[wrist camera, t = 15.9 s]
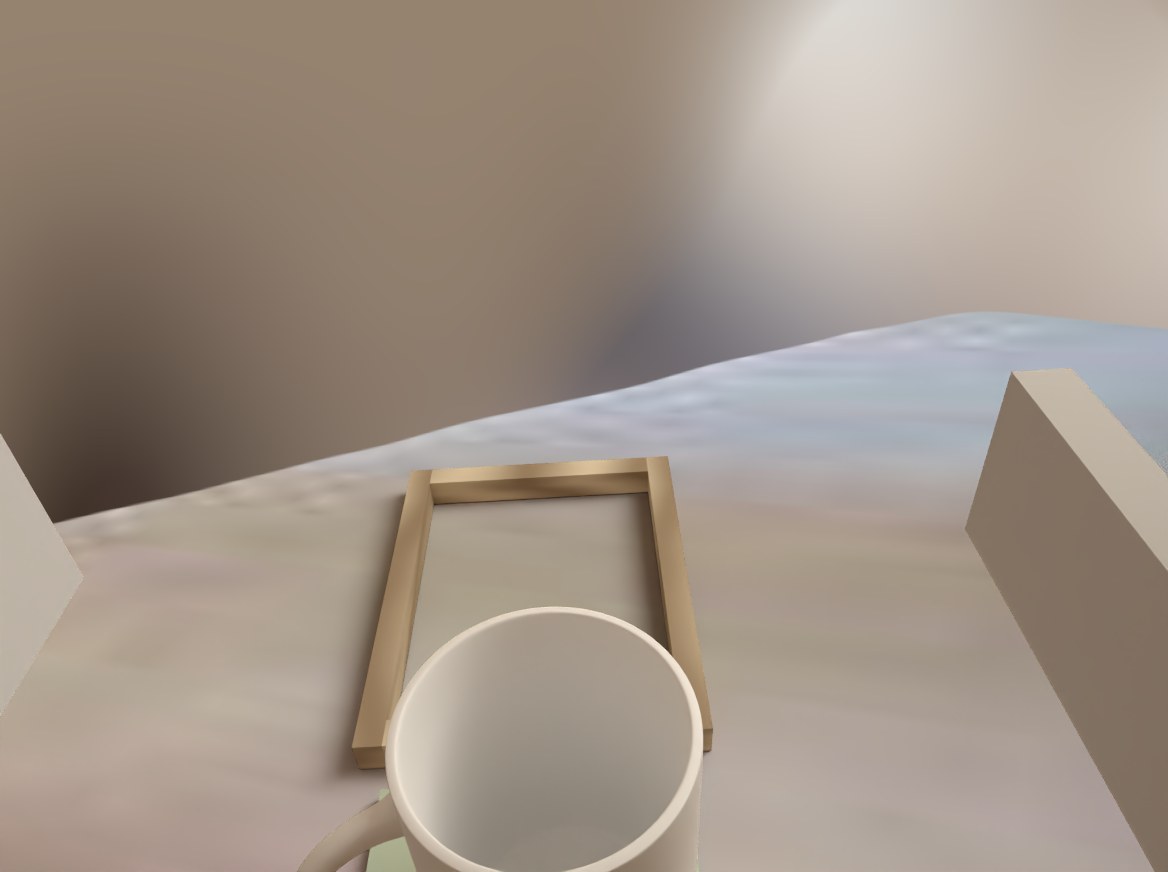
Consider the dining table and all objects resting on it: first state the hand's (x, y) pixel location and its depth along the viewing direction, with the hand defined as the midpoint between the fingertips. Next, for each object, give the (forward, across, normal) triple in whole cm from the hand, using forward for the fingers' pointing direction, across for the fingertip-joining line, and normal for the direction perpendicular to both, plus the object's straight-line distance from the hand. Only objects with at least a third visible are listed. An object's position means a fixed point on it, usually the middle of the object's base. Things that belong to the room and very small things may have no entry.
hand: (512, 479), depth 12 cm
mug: (+4, -2, -24) cm, 24 cm away
